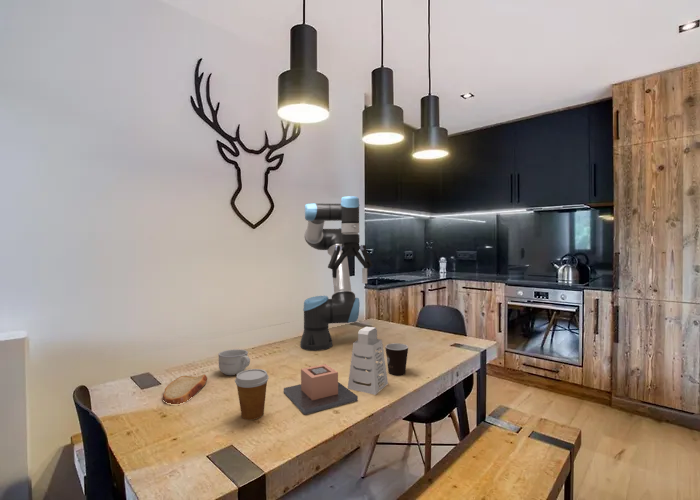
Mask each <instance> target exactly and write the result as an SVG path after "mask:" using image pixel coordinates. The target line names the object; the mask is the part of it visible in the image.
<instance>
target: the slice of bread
mask: <svg viewBox="0 0 700 500" xmlns="http://www.w3.org/2000/svg"><path fill="white" fill-rule="evenodd" d="M207 380H208V377H207V375H206V374H202V375H201V374H200V375H198V376H190V375H180V376H179V377H178V378H175V380H173V381H171V382H170V383H169V384H167V386H166V387H165V388H164V393H163V395H162V401H163V400H164V401H165V402H167V403H171V404H180V403H183V402H186V401H187V400H189V399H190V398H191V397H193V396H194V395H195V394H196V393H197V392H198V391H199V390H200V389H201V388H202V387H203V388H204V386H205V385H206V384H207ZM203 388H202V389H203ZM202 389H201V390H202ZM201 390H200V391H201ZM200 391H199V392H200ZM199 392H198V393H199ZM198 393H197V394H198ZM197 394H196V395H197ZM196 395H195V396H196ZM195 396H194V397H195ZM194 397H193V398H194ZM190 400H191V399H190ZM190 400H189V401H190ZM186 403H187V402H186Z"/></svg>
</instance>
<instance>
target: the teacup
mask: <svg viewBox="0 0 700 500" xmlns="http://www.w3.org/2000/svg"><path fill="white" fill-rule="evenodd" d="M248 353H249V351H247V350H246V349H242V348H241V349H239V348H238V349H237V348H234V349H226V350H223V351H220V352H219V353H218V354H217V355H218V369H219V371H220V372H221V373H223V374H224V375H226V376H235V374H236V375H237V374H238V373H240V372H242V371H245V370H247V368H248V367H249V366H250V363H251V359H250V357H249V356H248Z"/></svg>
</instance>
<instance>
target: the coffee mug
mask: <svg viewBox="0 0 700 500" xmlns="http://www.w3.org/2000/svg"><path fill="white" fill-rule="evenodd" d="M384 347H385V354H386V363H387V365H386V366H387V372H388V374H389V375H391V376H394V377H395V376H396V377H401V376H404V375H406V370H407V363H408V362H407V361H408V354H409V353H408V352H409V345H407V344H405V343H398V342H397V343H395V342H394V343H388V344H386V345H385V346H384Z"/></svg>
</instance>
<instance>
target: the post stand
mask: <svg viewBox="0 0 700 500" xmlns="http://www.w3.org/2000/svg"><path fill="white" fill-rule="evenodd" d="M311 373H312V374H313V375H319V374H324V373H328V371H326V370H325V369H324V368H318V369H313V370H311ZM283 394H285V396H286V397H288V399H289V400H290V401H291V402H292V403H293V404H294V405H295V406H296V408H297V409H299V411H300V412H301V413H302V414H303V415H305V416H306V415H310V414H313V413H317V412H321V411H324V410H328V409H329V410H330V409H332V408H335V407H339V406H340V407H341V406H343V405H347V404H350V403H355V402H358V401H359V399H358V395H357V394H355V393H354V392H353V391H351V389H348V387H346V386H344V385H343V384H342V383H340V382H339V381H338V394H336V395H332V396H328V397H324V398H320V399H316V400H311V399H310V398H309V397H308V396H307V395H306V394H305V393H304V392H303V391H302V390H301V383H300V384H297V385H291V386H287V387H283Z"/></svg>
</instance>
